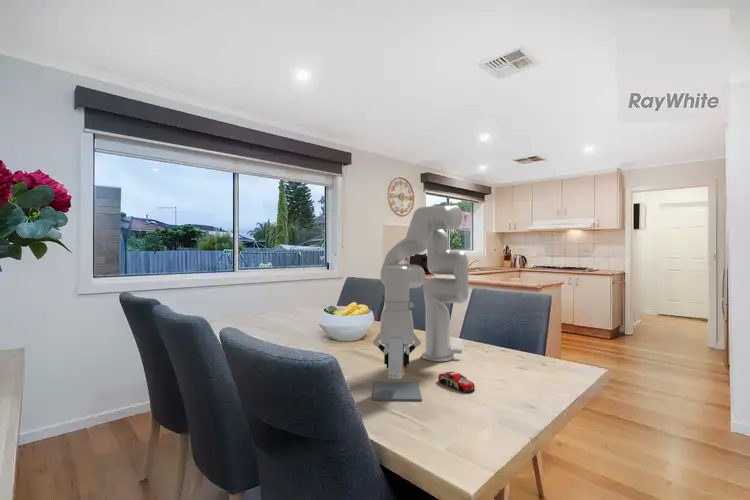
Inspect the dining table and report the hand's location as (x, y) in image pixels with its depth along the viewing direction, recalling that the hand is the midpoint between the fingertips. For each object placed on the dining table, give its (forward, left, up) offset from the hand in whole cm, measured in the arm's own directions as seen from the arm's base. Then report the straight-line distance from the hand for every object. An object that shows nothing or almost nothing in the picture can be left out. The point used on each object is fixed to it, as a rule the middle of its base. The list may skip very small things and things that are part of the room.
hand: (396, 366), depth 116 cm
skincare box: (0, 0, -3) cm, 3 cm away
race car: (-19, -6, -8) cm, 21 cm away
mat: (0, 0, -8) cm, 8 cm away
